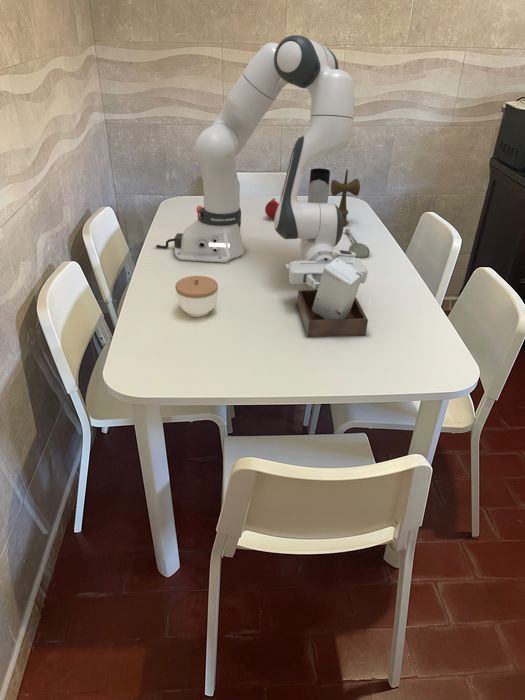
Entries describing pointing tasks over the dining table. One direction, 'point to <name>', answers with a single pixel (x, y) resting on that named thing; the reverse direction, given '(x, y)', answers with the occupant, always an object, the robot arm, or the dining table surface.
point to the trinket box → (197, 295)
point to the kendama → (346, 187)
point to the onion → (271, 208)
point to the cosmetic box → (336, 290)
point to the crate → (330, 327)
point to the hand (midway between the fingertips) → (333, 286)
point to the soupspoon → (358, 247)
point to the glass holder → (319, 186)
